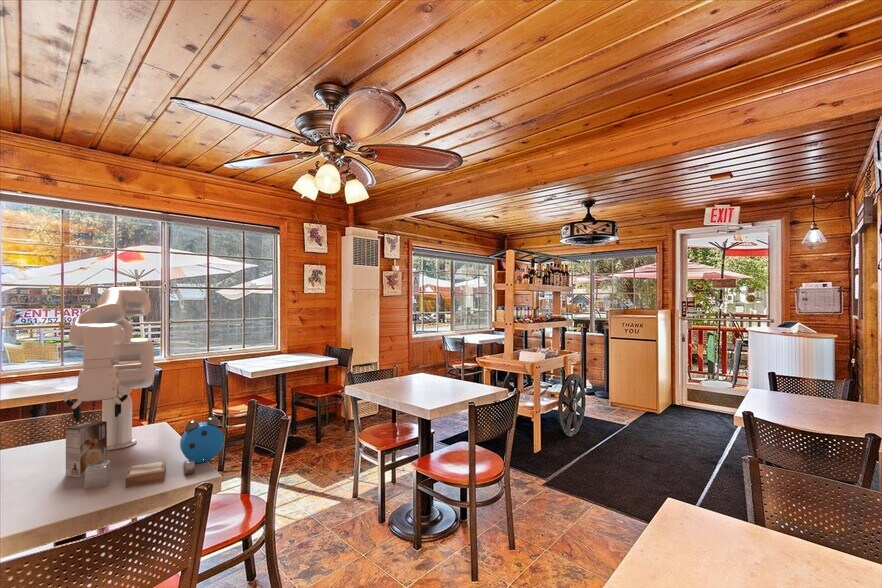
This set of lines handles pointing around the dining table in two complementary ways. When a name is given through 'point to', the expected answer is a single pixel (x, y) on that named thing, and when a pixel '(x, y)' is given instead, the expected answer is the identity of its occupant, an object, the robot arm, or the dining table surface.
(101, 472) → the housing
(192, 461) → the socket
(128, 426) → the robot arm
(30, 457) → the dining table surface
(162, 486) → the dining table surface
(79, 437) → the coffee box
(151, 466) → the picture frame
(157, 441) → the dining table surface
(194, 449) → the alarm clock
